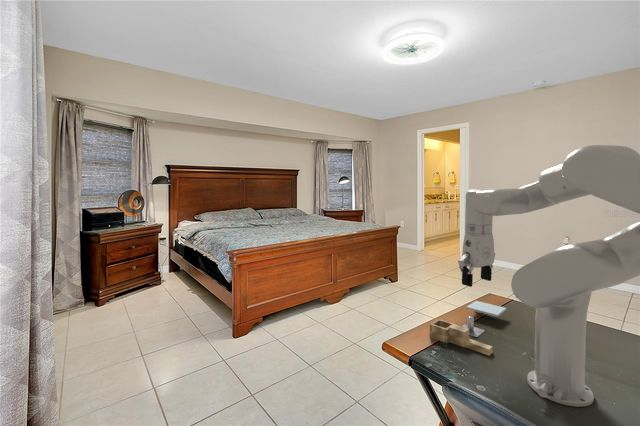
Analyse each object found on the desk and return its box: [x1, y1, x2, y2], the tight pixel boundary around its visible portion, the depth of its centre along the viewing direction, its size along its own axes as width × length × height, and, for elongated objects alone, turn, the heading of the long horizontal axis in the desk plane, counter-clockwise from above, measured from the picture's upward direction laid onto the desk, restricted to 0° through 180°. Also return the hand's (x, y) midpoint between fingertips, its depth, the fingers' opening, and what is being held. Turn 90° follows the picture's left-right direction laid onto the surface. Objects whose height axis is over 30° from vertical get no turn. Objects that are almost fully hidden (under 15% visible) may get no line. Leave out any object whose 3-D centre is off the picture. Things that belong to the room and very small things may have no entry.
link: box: [429, 318, 493, 357], centre depth 95 cm, size 18×6×5 cm, turn 40°
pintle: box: [460, 315, 486, 338], centre depth 103 cm, size 7×7×5 cm
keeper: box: [465, 300, 507, 318], centre depth 113 cm, size 9×11×4 cm
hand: (476, 282), depth 93 cm, fingers open, 9 cm apart
